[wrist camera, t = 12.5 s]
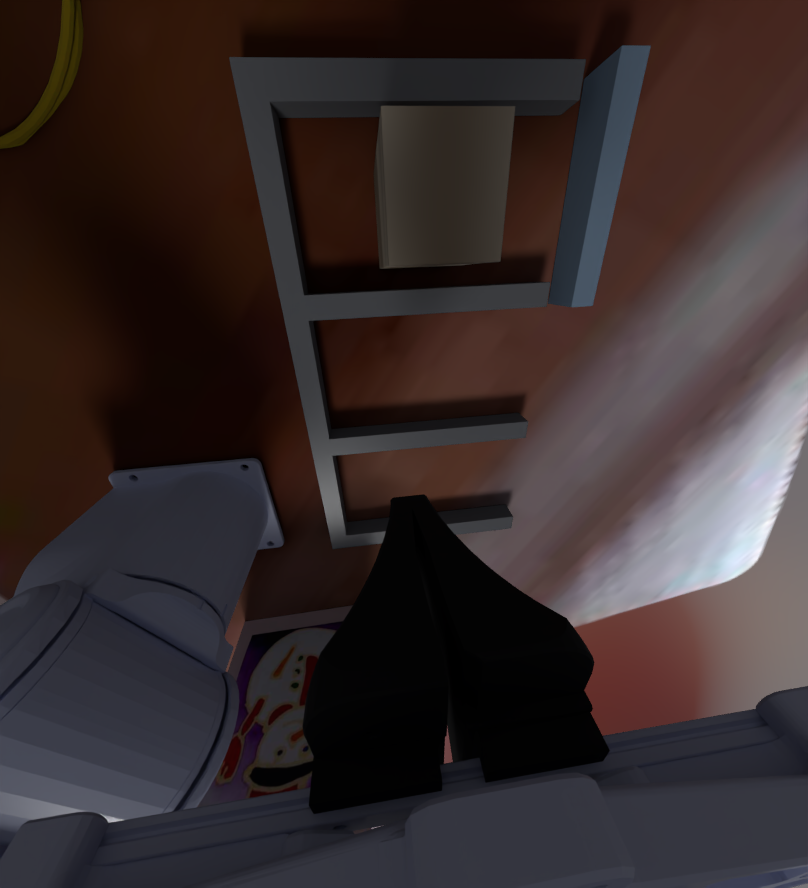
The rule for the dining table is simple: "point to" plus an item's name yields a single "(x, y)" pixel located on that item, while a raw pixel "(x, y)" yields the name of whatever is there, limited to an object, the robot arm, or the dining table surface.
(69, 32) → the olive curved band
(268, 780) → the greeting card
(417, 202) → the plug block
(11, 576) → the dining table surface
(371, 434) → the divided bay frame
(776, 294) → the dining table surface
